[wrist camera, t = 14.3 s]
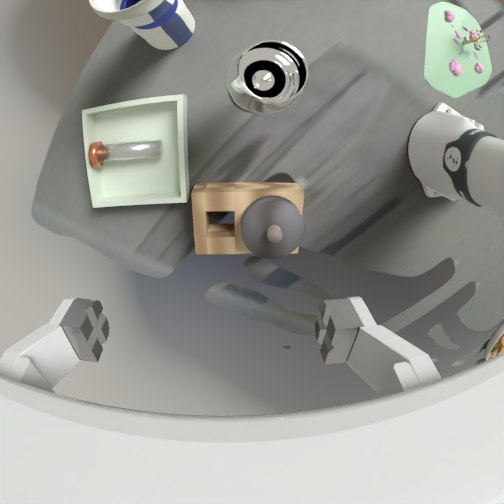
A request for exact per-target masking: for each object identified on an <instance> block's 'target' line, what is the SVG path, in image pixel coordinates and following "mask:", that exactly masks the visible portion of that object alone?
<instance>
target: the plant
mask: <svg viewBox="0 0 504 504" xmlns="http://www.w3.org/2000/svg"><path fill="white" fill-rule="evenodd" d="M482 29H483V30H484V28H482ZM484 32H486V31H485V30H484ZM484 32H482V30H481V28H480V26H479V24H478V23H477V21H476V20H475V19H474V18H473V16H471V15H470V14H469V13H468V12H467V11H466V10H464V9H463V8H461V7H458V6H456V5H453V4H450V3H447V2H439V3H436V4H434V5H432V6H431V7H430V9H429V17H428V26H427V35H426V55H425V68H424V77H425V79H426V81H427V82H428V84H429V85H430V86H432V87H433V88H434V89H436V90H438V91H439V92H442V93H444V94H446V95H448V96H450V97H453V98H458V97H460V96H462V95H464V94H466V93H468V92H470V91H472V90H474V89H476V88H478V87H480V86H482V85H484V84H485V83H486V82H487V80H488V78H489V77H490V75H491V71H492V67H491V61H490V56H489V52H488V47H487V41H488V40H485V36H484V35H483V33H484ZM488 38H490V36H489V35H488Z"/></svg>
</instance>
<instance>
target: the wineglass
mask: <svg viewBox="0 0 504 504" xmlns="http://www.w3.org/2000/svg"><path fill="white" fill-rule="evenodd" d="M307 80H308V66H307V62H306V60H305V58H304V56H303V55H302V54H301V53H300V51H298V50H297V49H296V48H295V47H294V46H292V45H290V44H288V43H286V42H283V41H278V40H266V41H261V42H257V43H254V44H251V45H249V46H247V47H245V48H244V49H242V50H241V51H239V52H238V53H237V54H236V55H235V56H234V58H233V59H232V61H231V62H230V64H229V67H228V69H227V74H226V85H227V88H228V91H229V93H230V95H231V97H232V99H233V101H234V102H235V103H236V104H237V105H238V106H239V107H241V108H243V109H245V110H248V111H250V112H253V113H257V114H273V113H278V112H280V111H283V110H285V109H287V108H289V107H290V106H292V105H293V104H294V103H295V102H296V101H297V100H298V99H299V97H300V96H301V95H302V93H303V91H304V89H305V86H306V84H307Z"/></svg>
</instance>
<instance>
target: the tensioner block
mask: <svg viewBox="0 0 504 504" xmlns="http://www.w3.org/2000/svg"><path fill="white" fill-rule="evenodd" d="M191 197H192V213H193V227H194V239H195V250H196V254H255V255H257V256H259V257H262V258H267V259H276V258H281V257H284V256H286V255H288V254H290V253H298V248H299V245H300V243H301V241H302V239H303V237H304V233H305V224H304V220H303V217H302V211H303V201H304V192H303V190H302V189H301V188H300V186H299V185H298V184H297V183H267V182H266V183H265V182H222V183H196V184H195V186H194V188H193V190H192V192H191ZM209 211H235V224H209Z"/></svg>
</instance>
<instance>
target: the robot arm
mask: <svg viewBox="0 0 504 504" xmlns="http://www.w3.org/2000/svg"><path fill="white" fill-rule="evenodd" d="M446 111H447V112H446ZM408 153H409V161H410V165H411V167H412V170H413V172H414V174H415V175H416V177H417V178H418V179H419V180H420V182H421V183H422V186H423V189H424V192H425V194H426V196H428V197H439V196H444V197H446V198H448V199H450V200H452V201H456V200H461V199H465V200H466V201H468V202H469V203H471V204H474V205H476V206H479V207H484V208H485V209H487V210H488V211H490V212H491V213H493V214H494V215H496V216H497V217H499V218H500V219H502V220H503V221H504V140H501V139H498V138H497V137H496V136H495V135H493V134H491V133H489V132H487V131H484V126H483V125H481V124H479V123H477V122H475V121H474V120H472V119H468V118H466V117H463V116H462V115H460V114H459V113H457V112H456V111H455V110H453V109H452V108H450V107H449V106H447V105H446V104H444V103H441V102H440V103H438V104H437V105H436V106H435V107H434V109H433V110H432V112H430V113H428V114H426V115H424V116H423V117H422V118H420V119H419V120H418V122H417V123H416V124H415V126H414V128H413V130H412V132H411V135H410V139H409V146H408ZM102 309H103V307H102V305H101V303H100V301H98V300H91V299H79V298H77V299H76V298H65V299H64V300H63V302H62V303H61V305H60V306H59V308H58V309H57V311H56V312H55V314H54V316H53V317H52V319H51V320H50V322H49V324H44V325H43V326H41V327H40V328H38V329H37V330H36V331H34V332H32V333H31V334H29V335H28V336H26V337H25V338H23V339H22V340H20V341H19V342H17V343H16V344H14V345H13V346H12V347H10V348H9V349H7V350H6V351H5V353H4V355H3V356H2V358H1V360H0V504H504V353H503V354H500V355H498V356H496V357H494V358H491V359H489V360H487V361H485V362H483V363H481V364H478V365H476V366H474V367H471V368H470V369H467V370H464V371H462V372H459V373H457V374H455V375H452V376H449V377H446V378H444V379H442V378H441V377H440V375H439V373H438V372H437V369H436V368H435V366H434V364H433V362H432V361H431V359H430V357H429V356H428V354H426V353H424V352H423V351H421V350H420V349H418V348H416V347H415V346H413V345H412V344H410V343H409V342H407V341H405V340H403V339H402V338H401V337H399V336H397V335H396V334H394V333H393V332H391V331H389V330H388V329H386V328H385V327H383V326H381V325H377V324H376V323H375V321H374V319H373V317H372V315H371V314H370V312H369V310H368V308H367V307H366V305H365V303H364V301H363V300H362V298H361V297H348V298H339V299H324V300H321V301H320V303H319V308H318V309H319V311H320V314H319V315H318V316H317V317H316V322H315V334H316V339H317V342H318V343H320V344H321V345H322V347H321V350H320V352H321V355H322V358H323V361H324V364H325V365H326V364H336V363H345V362H346V364H347V365H348V366H349V367H350V368H352V369H353V370H354V371H355V372H356V373H357V374H358V375H359V376H360V377H361V378H362V379H364V381H366V382H367V383H368V384H369V385H370V386H371V387H372V388H373V389H374V390H375V391H377V394H376V396H375V397H374V398H373V399H372V400H367V401H362V402H358V403H353V404H348V405H342V406H336V407H330V408H324V409H317V410H309V411H302V412H292V413H281V414H268V415H249V416H199V415H180V414H166V413H156V412H147V411H139V410H132V409H125V408H119V407H112V406H107V405H102V404H97V403H92V402H87V401H83V400H78V399H74V398H70V397H66V396H63V395H59V394H56V393H55V392H54V391H53V390H52V388H53V387H54V386H55V385H56V384H57V383H58V382H59V381H60V380H61V379H62V378H63V377H64V376H65V375H66V374H67V373H68V372H69V371H70V370H71V369H72V368H73V367H74V366H75V365H77V364H78V363H79V362H80V360H85V361H93V362H98V361H99V358H100V355H101V353H102V350H103V348H102V345H101V344H103V343H104V342H105V341H106V340H107V337H108V334H109V325H108V321H107V318H106V317H105V316H104V315H103V314H102V313H101V312H102Z"/></svg>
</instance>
